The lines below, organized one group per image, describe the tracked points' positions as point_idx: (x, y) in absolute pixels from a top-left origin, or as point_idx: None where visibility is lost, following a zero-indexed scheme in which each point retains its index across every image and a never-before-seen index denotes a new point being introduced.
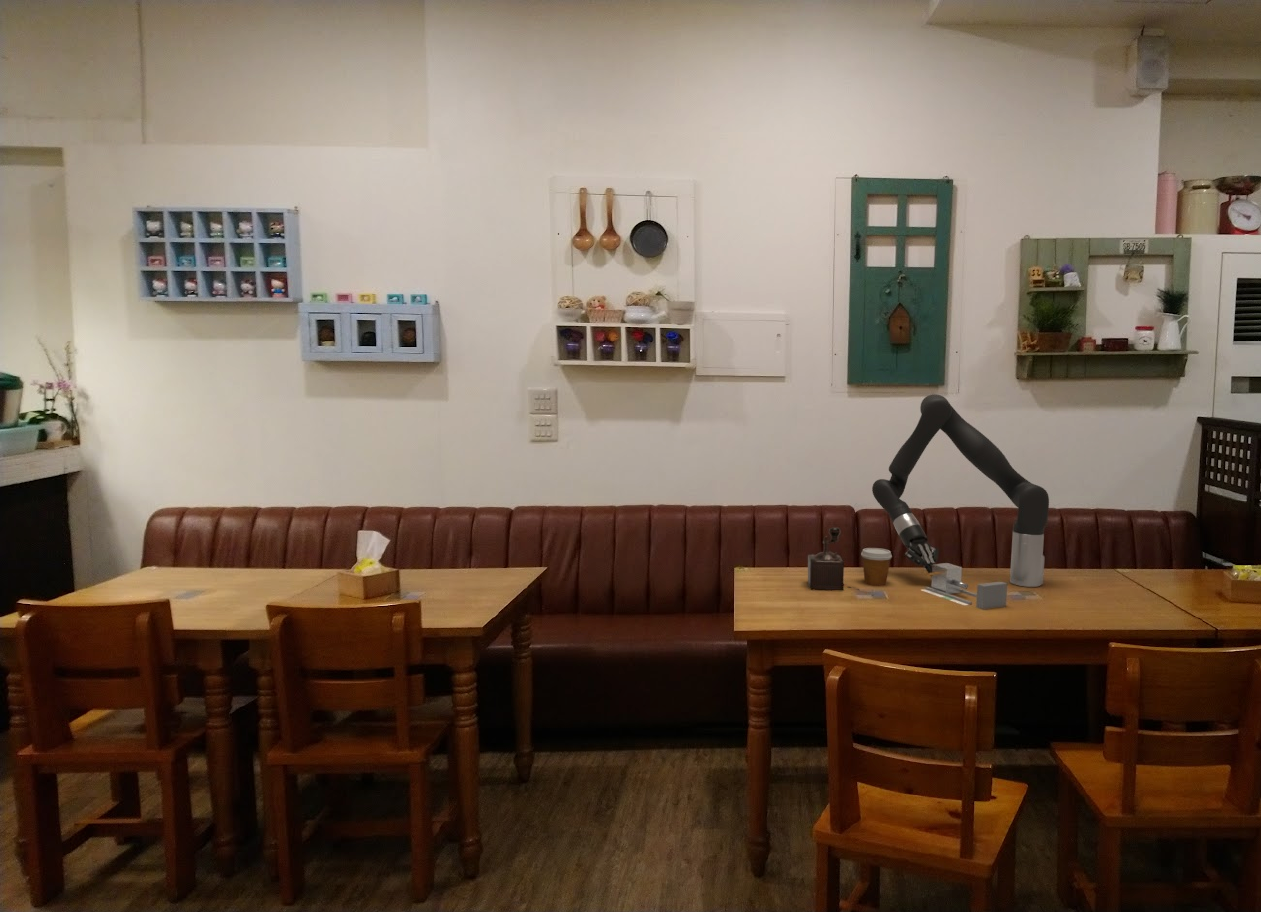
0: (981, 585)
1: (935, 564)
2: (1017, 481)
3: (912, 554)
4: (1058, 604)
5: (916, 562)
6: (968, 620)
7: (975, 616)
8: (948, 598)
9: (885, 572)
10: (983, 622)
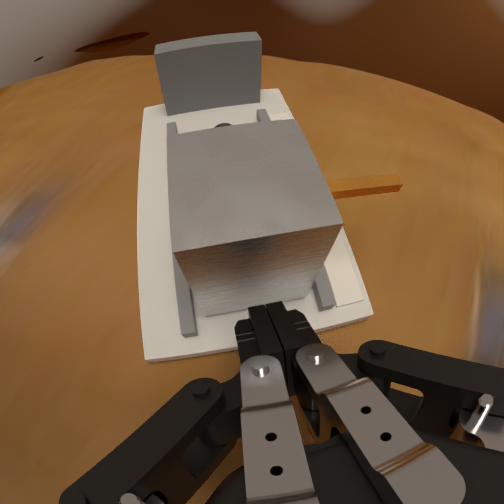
0: (257, 34)
1: (316, 220)
2: None
3: (490, 366)
4: (13, 159)
5: (402, 397)
6: (317, 83)
7: (284, 93)
8: None
9: None
10: (290, 72)
